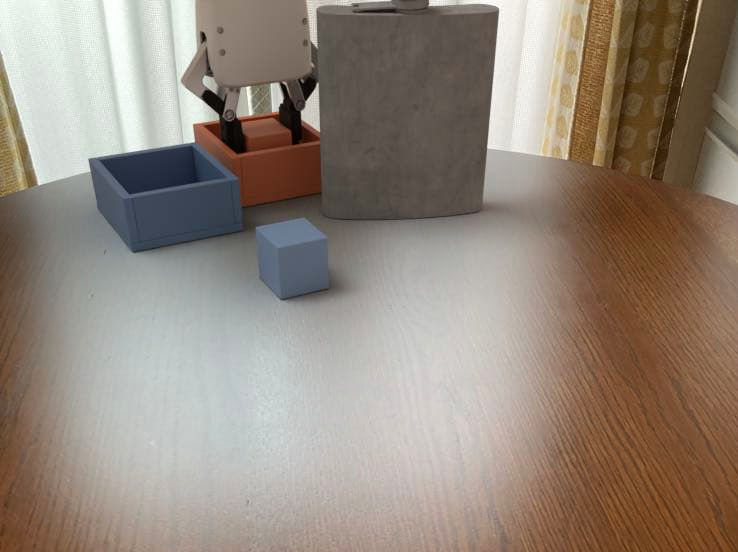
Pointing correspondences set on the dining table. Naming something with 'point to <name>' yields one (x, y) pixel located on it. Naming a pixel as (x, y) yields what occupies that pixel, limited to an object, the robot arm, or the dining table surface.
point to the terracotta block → (265, 135)
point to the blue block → (292, 257)
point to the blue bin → (166, 195)
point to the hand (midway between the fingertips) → (263, 151)
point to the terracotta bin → (268, 163)
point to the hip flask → (404, 107)
